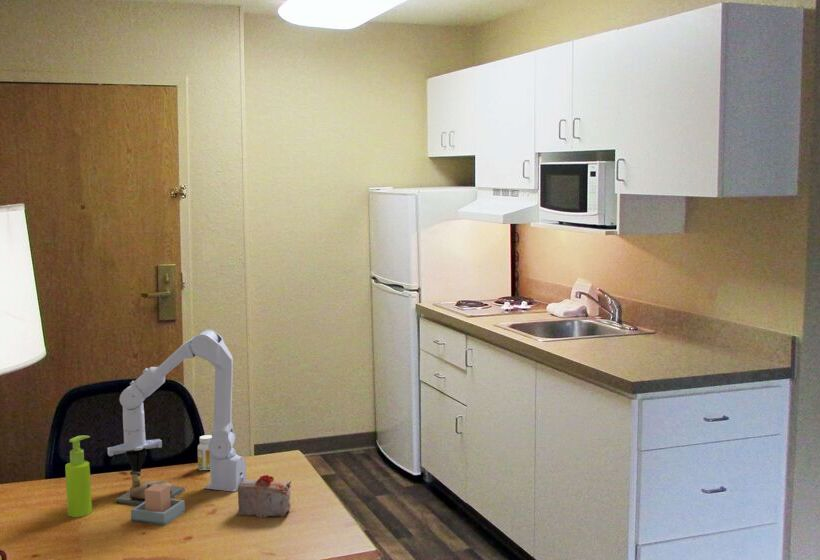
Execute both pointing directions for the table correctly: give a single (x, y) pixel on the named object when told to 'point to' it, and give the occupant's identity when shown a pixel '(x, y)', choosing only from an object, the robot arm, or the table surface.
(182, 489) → the crank base
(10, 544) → the table surface
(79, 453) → the soap dispenser
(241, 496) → the food item
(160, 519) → the tray
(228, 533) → the table surface
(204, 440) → the supplement bottle
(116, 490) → the table surface
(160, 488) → the block
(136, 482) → the crank
